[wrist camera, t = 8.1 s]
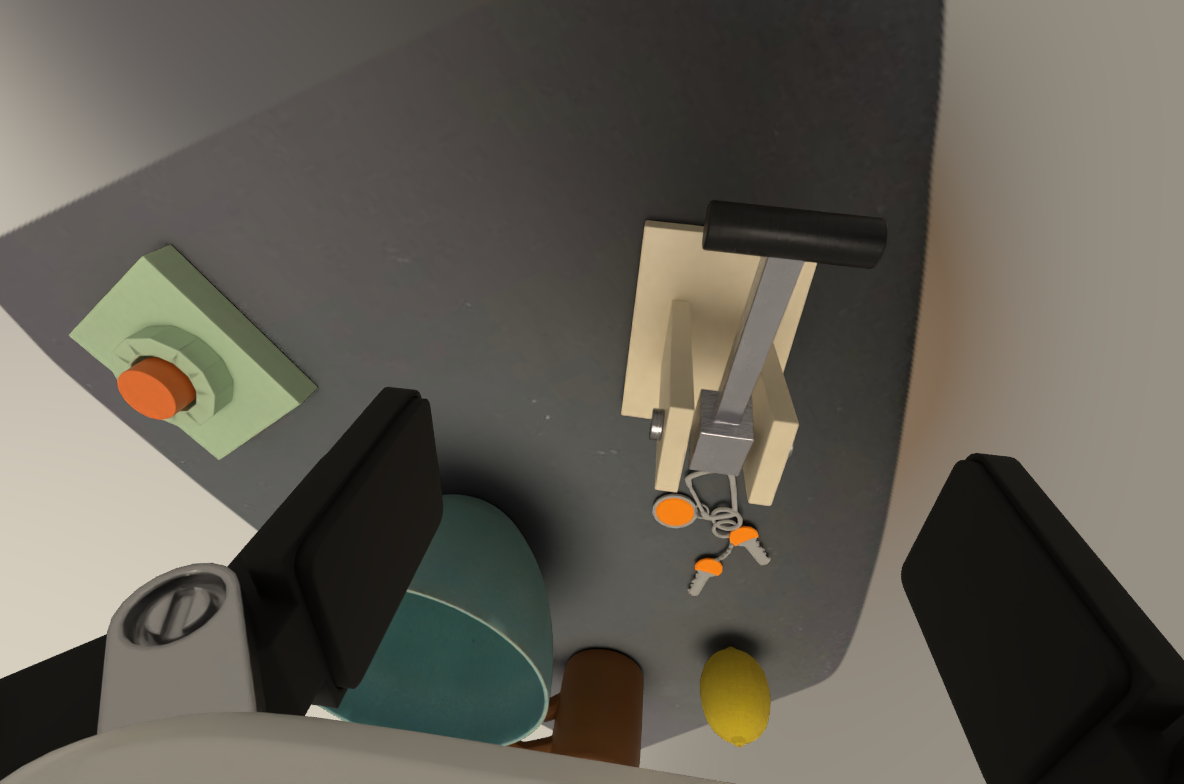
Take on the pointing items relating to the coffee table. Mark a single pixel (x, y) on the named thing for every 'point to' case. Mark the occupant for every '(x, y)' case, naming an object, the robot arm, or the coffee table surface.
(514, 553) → the plant pot
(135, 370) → the button
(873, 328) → the coffee table surface
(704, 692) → the lemon
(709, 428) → the lever
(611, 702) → the mug
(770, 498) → the bracket
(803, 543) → the coffee table surface
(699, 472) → the key chain
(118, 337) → the button block
